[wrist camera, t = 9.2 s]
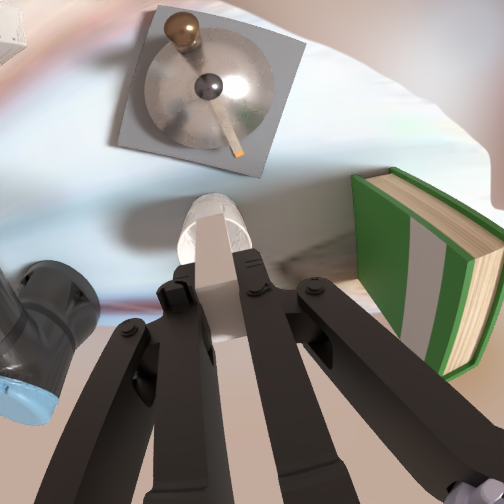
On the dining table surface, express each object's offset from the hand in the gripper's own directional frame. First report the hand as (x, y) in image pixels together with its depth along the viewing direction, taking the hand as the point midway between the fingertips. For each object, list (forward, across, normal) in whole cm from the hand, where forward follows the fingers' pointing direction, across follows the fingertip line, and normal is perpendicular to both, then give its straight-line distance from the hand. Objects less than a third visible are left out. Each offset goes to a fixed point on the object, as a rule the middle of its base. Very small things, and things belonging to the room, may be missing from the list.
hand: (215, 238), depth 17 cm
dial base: (+23, -2, -9) cm, 25 cm away
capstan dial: (+21, -2, -9) cm, 23 cm away
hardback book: (+23, -23, +14) cm, 35 cm away
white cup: (+24, +1, +8) cm, 25 cm away
